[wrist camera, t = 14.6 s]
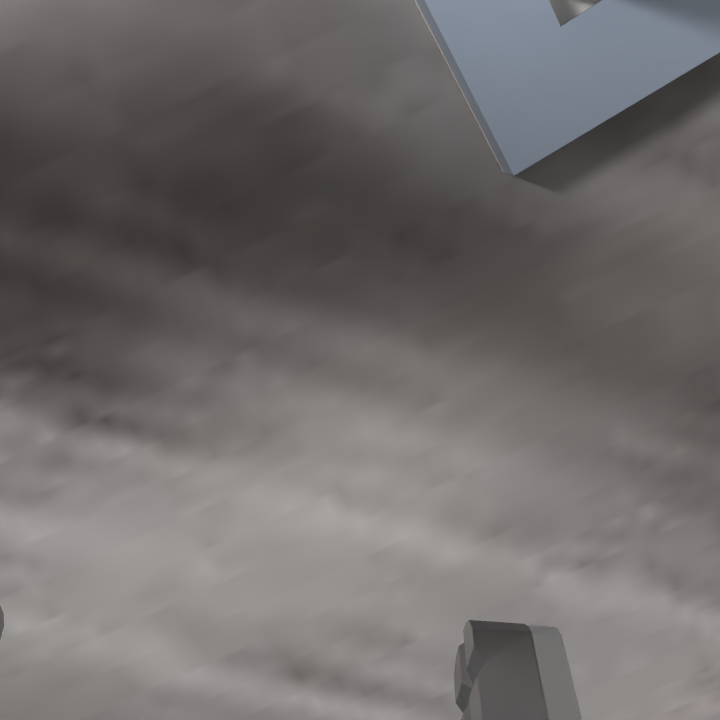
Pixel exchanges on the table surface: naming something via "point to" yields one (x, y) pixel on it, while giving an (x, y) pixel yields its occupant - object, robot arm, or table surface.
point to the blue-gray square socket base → (564, 62)
